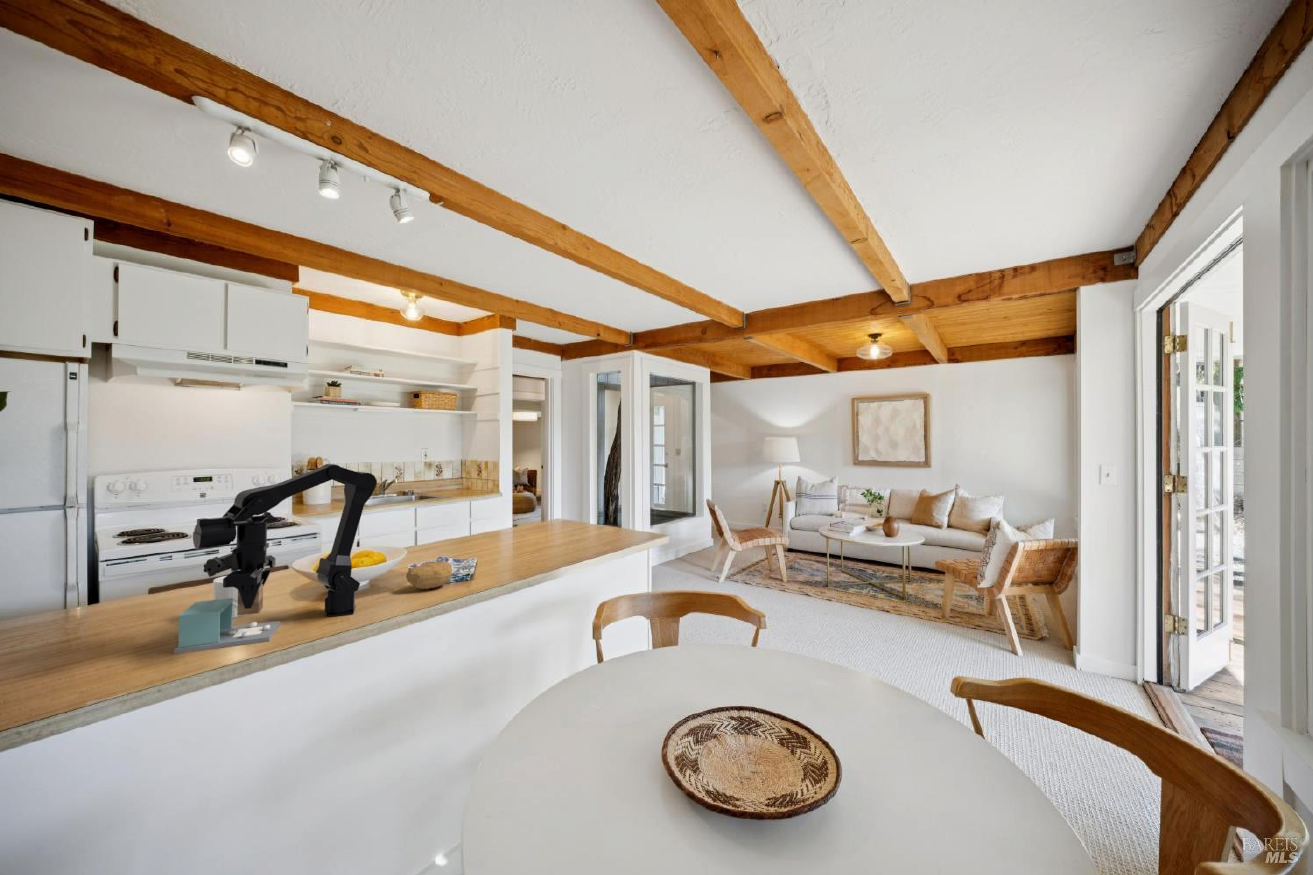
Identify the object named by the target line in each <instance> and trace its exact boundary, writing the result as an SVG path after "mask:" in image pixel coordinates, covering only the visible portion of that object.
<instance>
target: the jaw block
mask: <svg viewBox="0 0 1313 875" xmlns="http://www.w3.org/2000/svg"><path fill="white" fill-rule="evenodd" d="M263 602H264V587H263V584H261V586H260V589H259V591H258V593H257V595H256V598H255V600H254V602H253V604H252V607H251V608H248V609H245V607H244V604H243V601H242V598H241V596H240V593H239V591H238V608H237V616H238V615H242V616H245V615H246V616H247V615H254V614H259V613H260V612H261V611H262V609H263V608H264V603H263Z"/></svg>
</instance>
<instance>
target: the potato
mask: <svg viewBox="0 0 1313 875" xmlns="http://www.w3.org/2000/svg"><path fill="white" fill-rule="evenodd" d="M452 574H453V568H452V566H451V563H450V562H448V561H436V562H427V563H423V564H421V565H417V566H414V567H412V568H410V569H409V570H408V572H407V573H406V575H405V578H406V581H407V582H408V583H409V584H410V585H412V586H413V587H414V588H416V589H417V590H418V589H419V590H431V589H430V588H432V589H435V588H437V587H440V586H443V585H444V584H446V583H448V581H450V579H451V578H452Z"/></svg>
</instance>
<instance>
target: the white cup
mask: <svg viewBox="0 0 1313 875" xmlns="http://www.w3.org/2000/svg"><path fill="white" fill-rule="evenodd" d="M226 576H227V575H224V576H220V577H217V578H215V579H213V581H212V582H213V584H212V585H213V587H212V588H213V589H212V590H213V600H221V599H231V598H233V610H232V619H235V618H240V617H243V615H238V616H237V608H238V589H236V588H234V587H227V588H224V587H223V579H224V578H225V577H226Z"/></svg>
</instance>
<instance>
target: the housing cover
mask: <svg viewBox="0 0 1313 875" xmlns="http://www.w3.org/2000/svg"><path fill="white" fill-rule="evenodd" d="M232 610H233V598H231V599H221V600H214V599H213V600H212V599H211V600H204V601H202V600H201V601H196V602H194V603H192V604H191V605H190V606H189V607H188V608H187V609H185V610H184V611H183V612H182V613H180V614H179V616H178V642H177V643H178V645H177V646H178V648H179V647H187V646H194V645H202V644H210V643H217V642H219V640H220V629H227V628H232V627H233V618H232Z"/></svg>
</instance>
